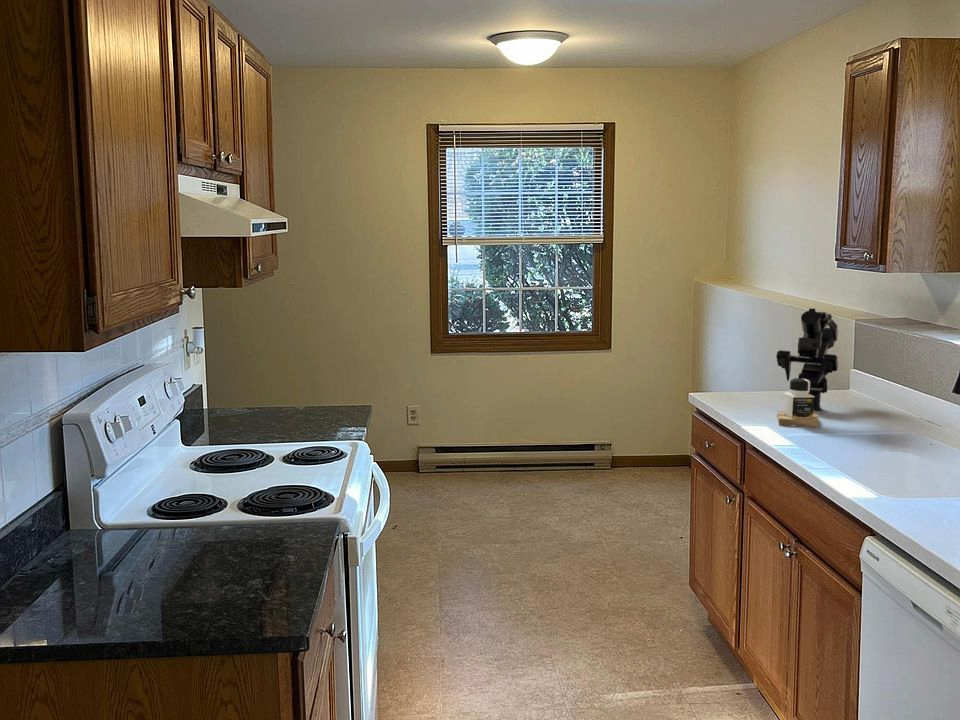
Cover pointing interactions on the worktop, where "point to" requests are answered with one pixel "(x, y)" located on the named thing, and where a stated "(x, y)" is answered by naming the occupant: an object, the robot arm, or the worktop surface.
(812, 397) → the medicine bottle
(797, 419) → the tan flat square slab
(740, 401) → the worktop surface
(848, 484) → the worktop surface
